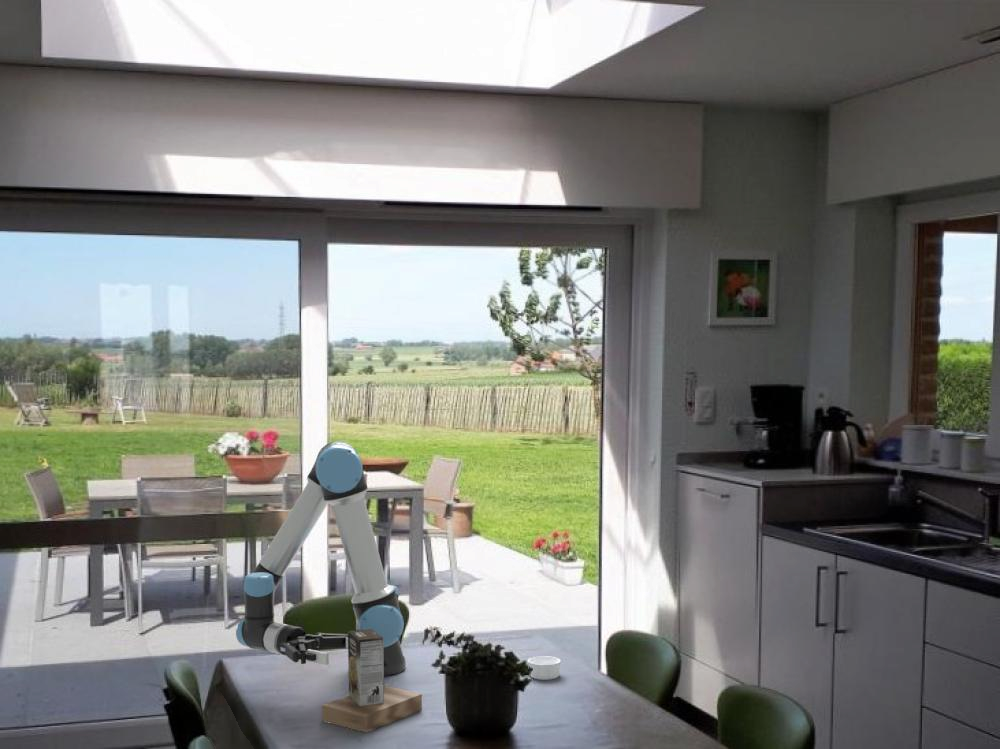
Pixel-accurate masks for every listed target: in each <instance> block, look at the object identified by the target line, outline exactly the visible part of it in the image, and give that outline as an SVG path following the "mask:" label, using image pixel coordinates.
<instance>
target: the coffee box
mask: <svg viewBox="0 0 1000 749" xmlns="http://www.w3.org/2000/svg"><path fill="white" fill-rule="evenodd" d="M347 634H348V649H347V656H348V658H347V659H348V660H347V661H348V664H347V665H348V695H349V696H350V697H351V698H352V699H353V700H354V701H355V702H356V703H357V704H358V705H359V706H366V705H374V704H381V703H384V682H385V680H384V679H385V676H384V654H383V637H382V636H381V635H379V634H378V633H377V632H375V631H374V630H373V629H367V630H356V629H354V630H349V631H347Z"/></svg>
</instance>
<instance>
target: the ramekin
mask: <svg viewBox="0 0 1000 749" xmlns="http://www.w3.org/2000/svg"><path fill="white" fill-rule="evenodd" d="M561 661H562V660H561V659H560V658H558V657H555V656H549V655H548V656H547V655H540V656H539V655H538V656H532V657H530V658H528V659H527V664H528V667H529V666H530V667H532V668H533V673H532V675H531V677H530V678H532V679H534V680H539V681H540V680H541V681H545V680H546V681H548V680H555V679H557V678H558V677H559V676H560V669H561V668H560V666H561V663H562V662H561Z"/></svg>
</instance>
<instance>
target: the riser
mask: <svg viewBox="0 0 1000 749" xmlns="http://www.w3.org/2000/svg"><path fill="white" fill-rule="evenodd" d="M422 696H423V694H422V693H419V692H413V691H410V690H406V689H402V688H396V687H393V686H388V685H384V703H381V704H374V705H366V706H359V705H358V704H357V703H356V702H355V701H354V700H353V699H352V698H351V697H350V696H349V694H348V695H345V696H344V697H340V698H337V699H335V700H332V701H329V702H327V703H326V702H325V703H324V704H322V705H321V706H322V708H321V709H322V711H321V712H322V722H323V721H326V722H325V723H327V722H330V723H332V724H331V725H334V724H337V725H336V726H338V725H341V726H340V727H342V726H343V728H345V727H348V728H347V729H349V728H351V729H350V730H353V729H355V730H354V731H356V730H358V731H357V732H360V731H363V732H362V733H364V732H366V733H368V732H367V731H369V732H371V731H373V729H374V730H376V729H378V727H379V728H381V727H384V726H387V725H389V724H391V723H394V722H395V721H399V720H401V719H403V718H406V717H409V716H411V715H413V714H415V713H419V712H421V711H423V703H422V702H423V701H422V700H423V697H422ZM330 723H329V724H330ZM380 726H381V727H380ZM375 728H376V729H375ZM370 730H371V731H370Z"/></svg>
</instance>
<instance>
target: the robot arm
mask: <svg viewBox="0 0 1000 749" xmlns="http://www.w3.org/2000/svg"><path fill="white" fill-rule="evenodd" d="M363 466H364V465H363V462H362V459H361V457H360V455H359V452H358V451H357V449H355V447H354V446H352V445H351V444H349V443H348V442H344V441H341V440H337V441H336V440H335V441H332V442H328V443H327V444H325V445H324V446H323V447H322V448H320V450H319V452H318V453H317V456H316V459H315V461H314V464H313V465H312V467H311V470H310V472H309V473H308V475H307V476H306V480H307V483H306V485H305V487H304V488H303V490H302V492H301V493H300V495H299V497H298V498H297V500H296V502H295V503H294V505H293V506H292V508H291V510H290V511H289V513H288V515H287V517H286V518H285V520H284V521H283V522H282V524H281V526H280V528H279V529H278V531H277V532H276V534H275V535H274V538H273V539H272V540H271V542H270V544H269V546H268V547H267V549H266V551H265V552H264V554H263V555H262V558H261V559H260V560H259V562H258V564H257V565H256V567H255V568H254V570H253V571H252V572H251V573H249V574H247V575H245V576H244V580H243V581H244V583H243V593H244V594H243V595H244V597H243V598H244V618H242V619H241V620H240V621H239V622H238V624H237V628H236V629H235V636H236V640H237V642H238V643H239V644H240V645H242V646H245V647H246V648H250V649H253V650H259V651H264V652H265V651H266V652H269V653H273V654H274V653H275V654H276V655H277V656H281V655H282V656H286V657H287V658H289V659H290V660H291V661H292V662H294V663H298V662H299V661H300V664H301V665H304V664H307V662H311V663H314V664H320V665H326V666H328V665H329V658H330V656H329V652H324V651H321V650H322V649H323V648H345V649H347V650H348V633H347V634H346V633H324V632H319V631H318V632H316V633H315V634H311V633H308V634H307V633H306V631H305V630H304V629H303V628H302V627H300V626H297V625H296V626H295V625H290V624H286V623H280V622H275V593H276V592H275V591H276V590H277V587H278V586H279V585H280V583H281V581H282V579H283V577H284V576H285V574H286V573H287V571H288V569H289V567H290V566H291V564H292V563H293V561H294V559H295V558H296V556H297V555H298V553H299V551H300V550H301V548H302V546H303V544H305V541H306V540H307V538H308V537H309V535H310V533H311V532H312V530H313V529H314V527H315V526H316V524H317V522H318V520H319V519H320V517H321V516H322V514H323V512H324V511H325V509H326V507H327V506H328V505H330V506H331V509H332V511H333V515H334V519H335V522H336V527H337V530H338V534H339V537H340V541H341V544H342V548H343V552H344V556H345V560H346V563H347V567H348V572H349V574H350V578H351V583H352V586H353V590H354V594H353V596H352V598H351V599H350V600H351V605H352V610H353V612H354V616H355V630H367V629H373V630H374V631H375V632H377V633H378V634H379V635H381V636H382V637H383V654H384V677H385V675H387V676H391V674H393V675H396V673H397V674H399V672H400V673H402V672H403V671H405V670H404V669H407V668H406V665H407V664H406V662H407V660H406V658H405V656H404V654H403V649H402V647H401V643H400V638H401V635H402V634H403V631H404V626H405V622H404V621H405V620H404V616H403V615H402V612H401V609H400V608H401V607H400V604H399V597H400V593H399V589H398V587H397V586H396V585H392V584H388V583H387V579H386V576H385V572H384V567H383V563H382V560H381V557H380V556H381V555H380V553H379V548H378V546H377V541H376V537H375V535H374V534H375V533H374V531H373V530H374V529H373V526H372V522H371V519H370V514H369V511H368V507H367V502H366V501H365V499H366V498H365V496H366V493H367V492H368V484H367V480H366V477H365V474H364V470H363ZM318 644H319V646H318ZM319 650H320V651H319ZM401 671H402V672H401Z"/></svg>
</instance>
